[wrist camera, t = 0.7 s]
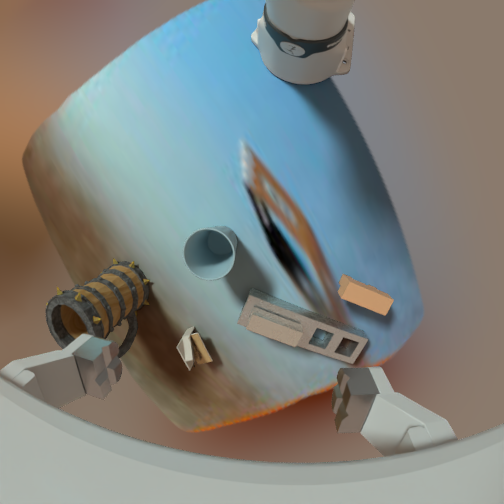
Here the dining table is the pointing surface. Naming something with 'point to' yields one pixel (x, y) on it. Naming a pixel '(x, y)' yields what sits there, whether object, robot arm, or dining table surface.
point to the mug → (99, 306)
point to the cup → (210, 252)
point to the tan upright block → (364, 295)
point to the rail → (309, 327)
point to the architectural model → (193, 349)
